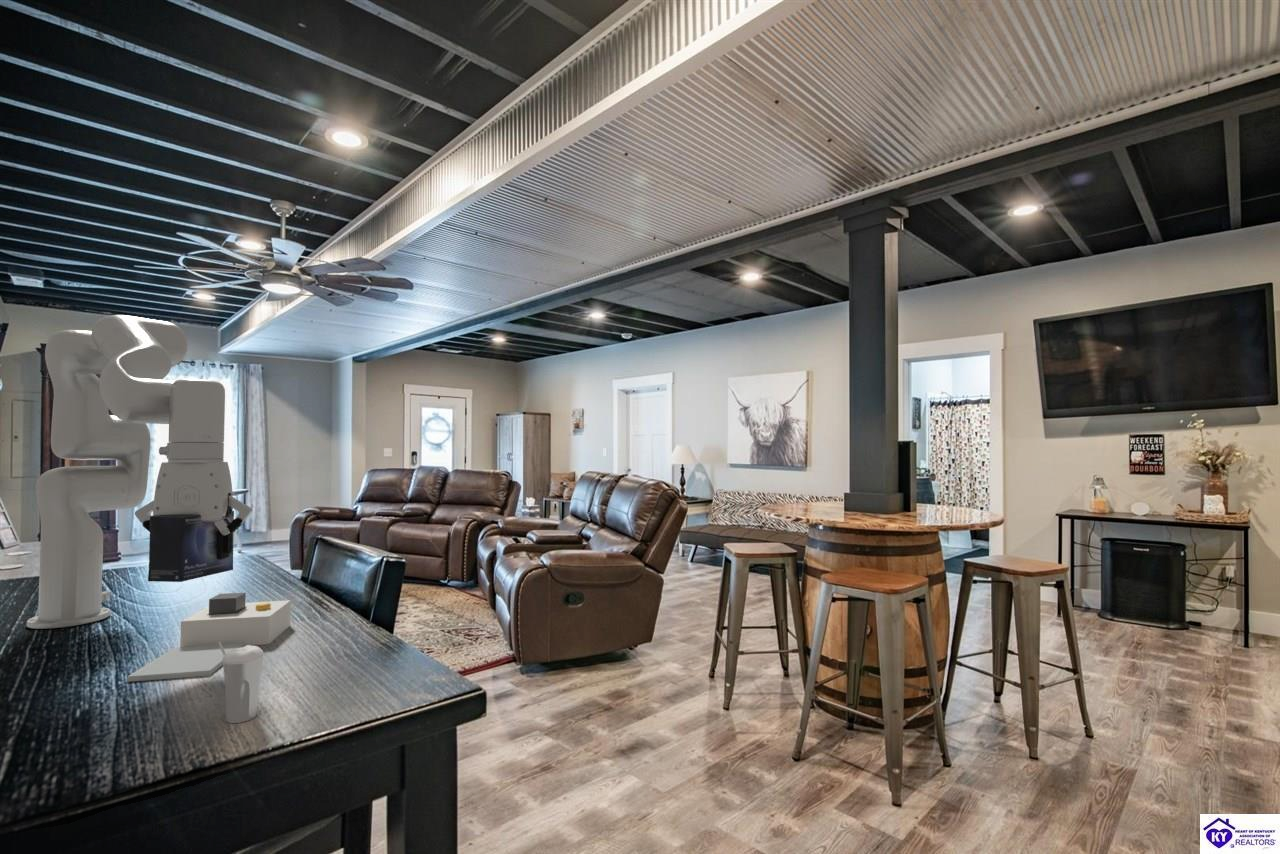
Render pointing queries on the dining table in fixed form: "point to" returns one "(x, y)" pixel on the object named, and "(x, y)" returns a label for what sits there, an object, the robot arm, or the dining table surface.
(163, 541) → the small box
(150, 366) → the robot arm
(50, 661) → the dining table surface
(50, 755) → the dining table surface
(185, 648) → the lockout pad
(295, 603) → the dining table surface
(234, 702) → the milkshake
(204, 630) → the switch panel
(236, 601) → the button
